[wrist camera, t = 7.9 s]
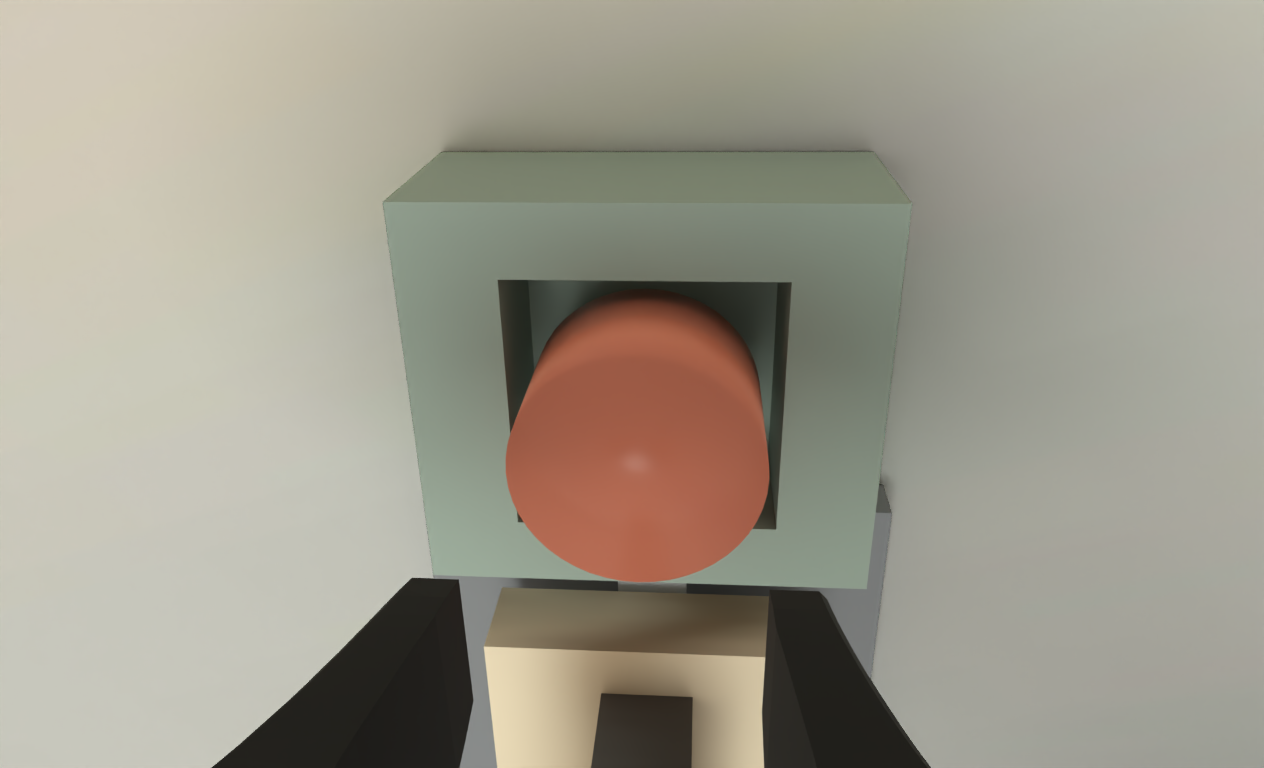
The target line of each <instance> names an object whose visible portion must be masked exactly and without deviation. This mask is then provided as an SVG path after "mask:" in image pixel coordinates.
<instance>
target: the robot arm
mask: <svg viewBox="0 0 1264 768" xmlns="http://www.w3.org/2000/svg"><path fill="white" fill-rule="evenodd" d="M473 701H474V700H473V691H472V683H471V675H470V667H469V659H468V650H467V642H466V634H465V626H464V617H463V609H462V601H461V593H460V584H459V579H430V578H412V579H410V580H409V581H408V582H407V583H406V584H405V585H404V586H403V587H402V588H401V589H400V590H399V591H398V592H397V593H396V594H395V595H394V596H393V597H392V598H391V599H390V600H389V601H388V602H387V603H386V604H385V605H384V606H383V607H382V608H381V609H380V610H379V612H378V613H377V614H376V615H375V616H374V617H373V618H372V619H371V620H370V621H369V622H368V623H367V624H366V625H365V626H364V627H363V628H362V629H361V630H360V631H359V632H358V633H357V634H356V635H355V636H354V637H353V638H352V639H351V640H350V641H349V642H348V643H347V644H346V645H345V646H344V647H343V649H342V650H341V651H340V652H339V653H337V654H336V655H335V656H334V657H333V658H332V659H331V660H330V661H329V662H328V663H327V664H326V665H325V666H324V667H323V668H322V669H321V670H320V671H319V672H318V673H317V674H316V675H315V676H314V677H313V678H312V679H311V680H310V681H309V682H308V683H307V684H306V685H305V686H304V687H303V688H302V689H301V690H300V691H298V692H297V693H296V694H295V695H294V696H293V697H292V698H291V699H290V700H289V701H288V702H287V703H286V704H284V705H283V706H282V707H281V708H280V709H279V710H278V711H277V712H275V713H274V714H273V715H272V716H271V717H270V718H269V719H268V720H266V721H265V722H264V723H263V724H262V725H261V726H260V727H259V728H258V729H256V730H255V731H254V732H253V733H252V734H251V735H250V736H249V737H247V738H246V739H245V740H244V741H243V742H242V743H241V744H240V745H238V746H237V747H236V748H235V749H234V750H232V751H231V752H230V753H229V754H228V755H226V756H225V757H224V758H223V759H222V760H220V761H219V762H218V763H217V764H216V765H214V766H213V767H212V768H460V763H461V759H462V754H463V750H464V745H465V741H466V736H467V731H468V726H469V721H470V716H471V711H472V706H473ZM762 728H763V753H764V768H931V767H930V766H929V765H928V763H927V762H926V760H925V759H924V758H923V756H922V755H921V754H920V752H919V751H918V750H917V748H916V747H915V745H914V744H913V743H912V741H911V740H910V738H909V737H908V735H907V734H906V733H905V731H904V730H903V728H902V727H901V725H900V724H899V722H898V721H897V719H896V718H895V716H894V715H893V713H892V712H891V710H890V709H889V707H888V706H887V704H886V703H885V701H884V700H883V698H882V697H881V695H880V693H879V692H878V690H877V689H876V687H875V686H874V684H873V682H872V681H871V679H870V678H869V676H868V674H867V673H866V671H865V669H864V668H863V666H862V664H861V663H860V661H859V659H858V657H857V656H856V654H855V652H854V651H853V649H852V647H851V645H850V643H849V642H848V640H847V638H846V636H845V634H844V632H843V631H842V629H841V627H840V625H839V623H838V621H837V619H836V617H835V615H834V613H833V611H832V609H831V606H830V604H829V602H828V600H827V599H826V598H825V597H824V596H823V595H822V594H821V593H820V592H819V591H796V590H769V605H768V621H767V638H766V654H765V670H764V687H763V703H762Z"/></svg>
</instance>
